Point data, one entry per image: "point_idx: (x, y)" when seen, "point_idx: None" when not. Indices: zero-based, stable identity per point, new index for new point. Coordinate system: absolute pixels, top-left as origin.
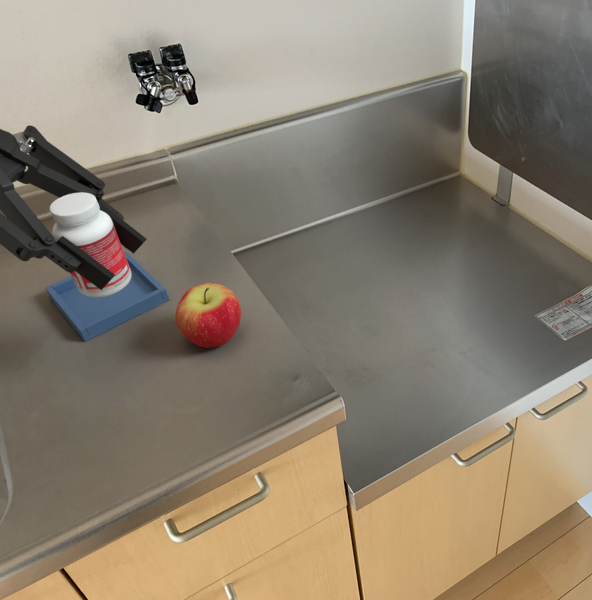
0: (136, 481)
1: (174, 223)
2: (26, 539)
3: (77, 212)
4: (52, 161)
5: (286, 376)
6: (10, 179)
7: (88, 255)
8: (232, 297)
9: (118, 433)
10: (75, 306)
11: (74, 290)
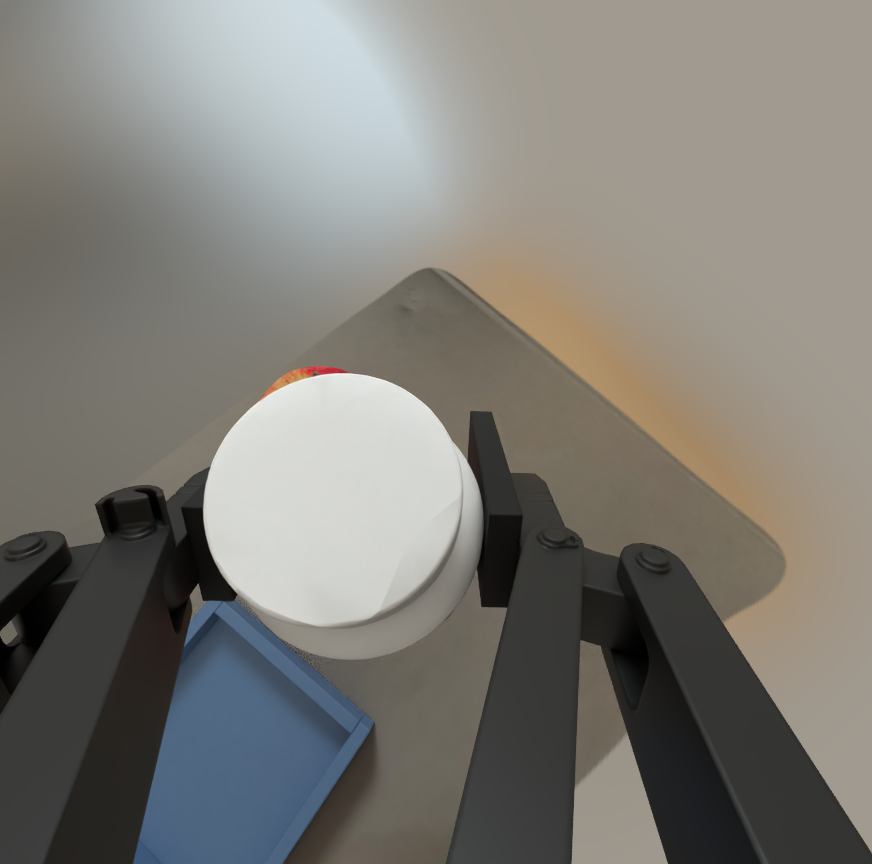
0: (633, 450)
1: None
2: (767, 554)
3: (418, 411)
4: None
5: (404, 322)
6: None
7: (479, 453)
8: (298, 370)
9: (567, 519)
10: (265, 826)
11: None
